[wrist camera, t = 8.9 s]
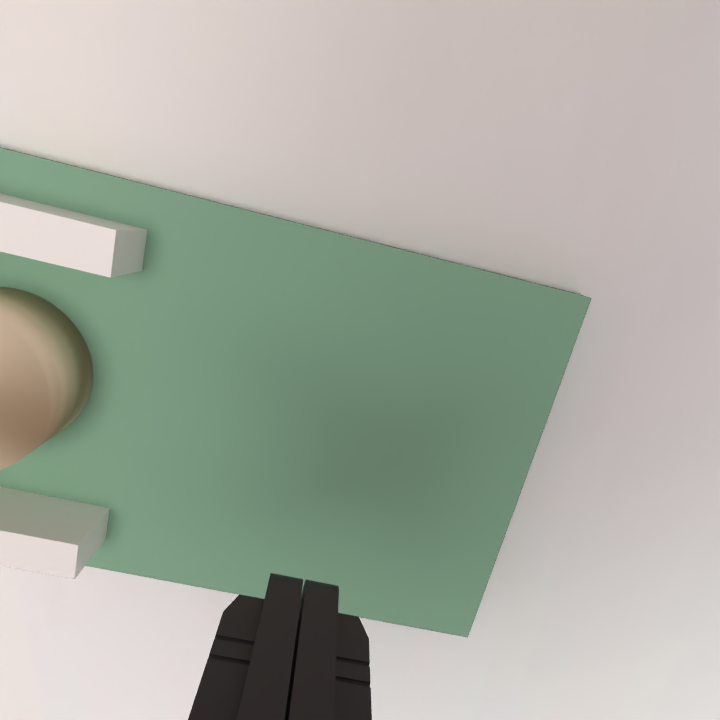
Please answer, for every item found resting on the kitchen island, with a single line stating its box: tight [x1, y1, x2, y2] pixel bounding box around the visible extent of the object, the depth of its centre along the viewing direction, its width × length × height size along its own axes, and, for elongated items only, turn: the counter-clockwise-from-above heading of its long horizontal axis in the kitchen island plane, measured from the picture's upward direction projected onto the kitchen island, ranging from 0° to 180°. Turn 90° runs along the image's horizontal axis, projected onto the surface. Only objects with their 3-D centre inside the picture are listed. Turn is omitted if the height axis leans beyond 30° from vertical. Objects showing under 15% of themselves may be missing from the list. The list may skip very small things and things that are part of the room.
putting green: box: [0, 147, 591, 637], centre depth 20 cm, size 16×26×1 cm, turn 76°
